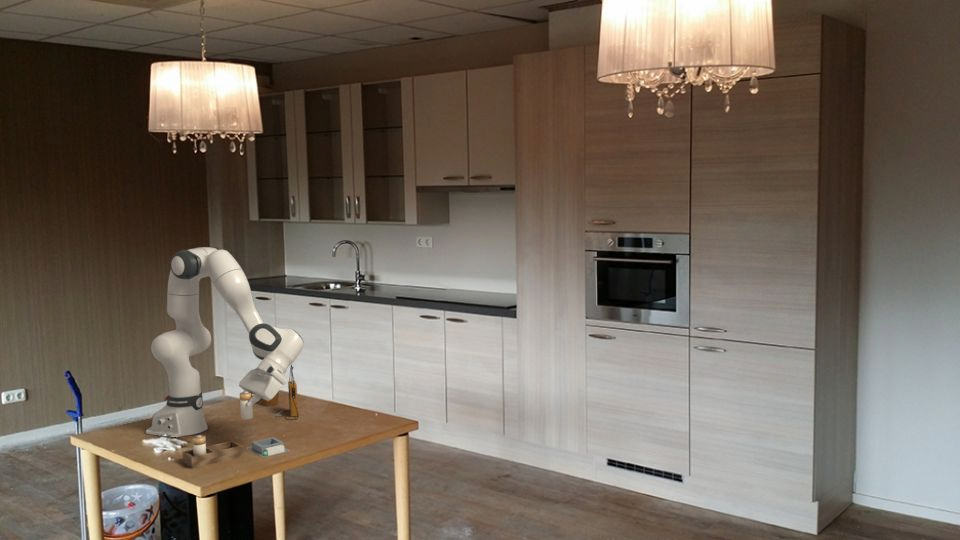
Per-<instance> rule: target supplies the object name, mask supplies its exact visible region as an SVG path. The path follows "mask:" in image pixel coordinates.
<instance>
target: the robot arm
mask: <svg viewBox="0 0 960 540" xmlns="http://www.w3.org/2000/svg"><path fill="white" fill-rule="evenodd" d="M169 266H170V270H169V271H170V272H169V275H168V283H167V293H166V294H167V295H166V297H167V302H166V303H167V304H166V312H167V313H166V314H167V315H168V316H169V317H170V318H172V319H174V321H175V329H174V330H171V331H170V330H169V331H166V332H163V333H162V334H160V335H158V336H156V337H154V338H153V340H152V342H151V346H150V351H151V353H152V355H153V358H155V359H156V360H157V361H158V362H160V363H161V364H162V366H163V367H164V369H165V372H166V374H167V379H168V388H169V389H168V390H169V395H167V396H166V397H164V398H163V401H164V402H165V401H166V403H165V404H166V405H164V406H163V407H162V408H161V409H160V410H158V411H157V412H156V413H155V414H154V415H153V417H152V421H151V426H150V427H149V428H147V429H146V430H145V434H146V435H151V436H157V435H158V437H162V436H161V435H163V434H168V435H171V436H174V437H176V438H180V437H184V436H192V435H197V434H200V433H202V432H205V431H207V430H208V429H209V427H208V425H207V422H206V419H205V414H204V409H203V403H204V401H203V392H202V391H201V377H200V375H201V374H200V372H199V370H198V369H196V368H195V367H193V366H192V364H191V362H190V357H192V356H195V355H198V354H201V353H202V352H204V351H206V350H207V349H209V348H210V346H211V344H212V336H211V335H212V334H211V332H210V331H209V330H208V328H206V326H204V324H203V322H202V320H201V316H200V310H199V308H200V304H199V303H200V301H199V300H200V281H201V279H203V278H210V280H211V282H212V284H213V286H214V287H215V289H216V290H217V292H218V293H219V295H220V296H221V298H222V299H223V300H225V302H226V303H227V305H229V307H230V308H231V309H232V310H233V311H234V312H235V313H236V315H238V317H239V319H240V320H241V321H242V324H243V326H244V327H245V329H246V331H247V333H248V339H249V344H250V345H251V348H252V351H253V354H254V356H255V358H257V359H259V360H260V361H261V362H260V363H259V364H258V365H257V366H256V368H253V369H251V370H249V372H247V373H246V374H245V376H243V378H242V379H241V380H240V381H239V384H238V386H239V388H241V389H242V390H243V392H245V391H248V392H252V398H251V399H250V400H248V401H247V403H246V405H247V406H248V407H252V406H254V405H255V404H256V403H257V402H259V401H260V400H261V399H262V398H263V399H265V400H267V401H269V400H271V399H272V398H273V397H274V396H275V395H276V394H277V392H278V391H279V392H280V390H281V388H282V386H283V385H285V384H286V383H288V379H287V377H286V376H285V374H286V372H287V371H288V369H289V366H291V364H292V365H293V363H294V362H295V360H297V357H298V356H300V354H301V351H302V350H303V348H304V345H305V343H304V339H303V337H301V335H300V334H299V333H298V331H296V330H294V329H292V328H281V327H276V326H272V325H271V324H268V323H264V321H263V320H262V318H261V316H260V314H259V313H258V311H257V309H256V306H255V303H254V300H253V296H252V290H251V286H250V283H249V281H248V278H247V276H246V274H245V272H244V270H243V269H242V267H241V265H240V264H239V263H238V261H237V260H236V259H235V258H234V256H233V255H232V254H231V253H230V252H229V251H228V250H226V249H223V248H221V247H217V246H210V247H208V246H205V247H203V246H201V247H200V246H199V247H194V248H190V249H182V250H179V251H177V252H175V253H174V254H173V255H172V256H171V258H170V265H169ZM238 402H239V403H240V399H238Z"/></svg>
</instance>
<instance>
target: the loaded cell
mask: <svg viewBox="0 0 960 540" xmlns="http://www.w3.org/2000/svg"><path fill="white" fill-rule="evenodd" d="M206 440H207V439H206V435H201V434H198V435H197V434H196V435H195V436H193V437H192V448H193V449H192V450H193V454H194V456H199V455H203V454H206V447H207V445H206V444H207V443H206V442H207V441H206Z"/></svg>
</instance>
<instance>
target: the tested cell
mask: <svg viewBox="0 0 960 540" xmlns="http://www.w3.org/2000/svg"><path fill="white" fill-rule="evenodd" d="M251 398H253V394H252V392H248V391H245V392H240V393H239V400H240V402H239V404H240V405H239V407H240V408H239V409H240V419H241V420H251V419H253V418H254V411H253V410H254V409H253V408H254V407H253V406H254V405H253V406H252V407H248V406H247V405H246V403H247V401H248V400H250V399H251Z"/></svg>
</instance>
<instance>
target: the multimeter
mask: <svg viewBox="0 0 960 540" xmlns="http://www.w3.org/2000/svg"><path fill="white" fill-rule="evenodd" d="M293 369H294V366H293V363H292V364H290V371H289V375H290V377H289V379H288V380H287V385H288V386H287V387H288V401H289V403H288V404H289V406H288V407H289V409H287V410H281V411H280V412H278V413H276V414H274V416H275V417H282V415H281V414H283V413H284V412H288V411H289V415H290V417H291V418H292V419H291V418H286V416H285V415H284V419H285V420H288V421H296V420H298V419H299V406H298V387H297V382H296V380H295V379H294V373H293ZM296 417H297V418H296Z"/></svg>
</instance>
